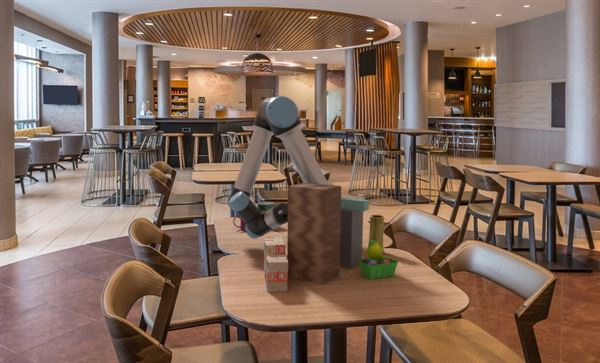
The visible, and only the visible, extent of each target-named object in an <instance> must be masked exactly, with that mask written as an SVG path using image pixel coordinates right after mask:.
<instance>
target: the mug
mask: <svg viewBox="0 0 600 363" xmlns="http://www.w3.org/2000/svg"><path fill="white" fill-rule="evenodd" d="M237 218H238V219H240V226H239V225H237V224H235V223H236V222H235V220H236V219H237ZM232 223H233V225H234V227H236V228H239V229H240V231H243V232H246V230H245V225H246V223H245V222H244V221H243V220H242V219H241V218H240V217H239V215H237V216H234V218H233V222H232Z"/></svg>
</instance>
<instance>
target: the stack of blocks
mask: <svg viewBox="0 0 600 363" xmlns="http://www.w3.org/2000/svg"><path fill="white" fill-rule="evenodd" d="M263 274H264V280H265V283H266V284H265V286H266V291H267V292H269V293H270V292H288V279H289V277H288V260H287V255H286V243H285V242H284V238H283V236H264V237H263Z"/></svg>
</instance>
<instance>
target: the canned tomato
mask: <svg viewBox="0 0 600 363" xmlns="http://www.w3.org/2000/svg"><path fill="white" fill-rule="evenodd" d="M273 207H275V202H274V201H259V202H257V208H258V209H259V210H260V211H261V212H262V213H265V212H266V211H268V210H270V209H271V208H273Z"/></svg>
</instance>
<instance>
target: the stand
mask: <svg viewBox="0 0 600 363" xmlns="http://www.w3.org/2000/svg"><path fill="white" fill-rule="evenodd" d="M341 196H342V185H334V184H333V185H322V184H311V183H303V182H302V183H296V184H292V185H288V186H287V203H288V222H287V243H286V244H287V248H286V249H287V252H286V254H287V255H286V257H287V260H288V279H289V278H290V279H295V280H299V279H300V281H304V282H309V283H315V284H320V285H327V284H329V283H331V282H332V281H334V280H336V279H337V278H340V276H341V275H340V274H341V272H340V271H341V267H340V228H341Z"/></svg>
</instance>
